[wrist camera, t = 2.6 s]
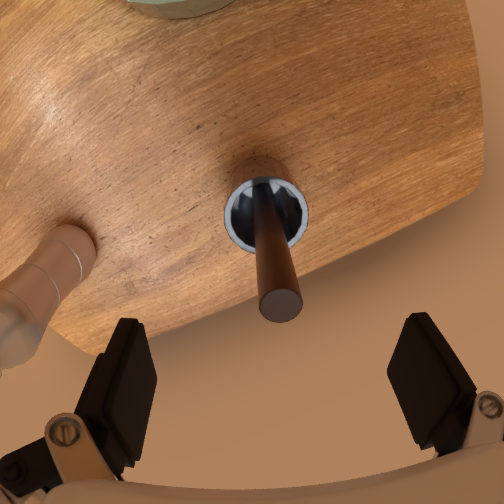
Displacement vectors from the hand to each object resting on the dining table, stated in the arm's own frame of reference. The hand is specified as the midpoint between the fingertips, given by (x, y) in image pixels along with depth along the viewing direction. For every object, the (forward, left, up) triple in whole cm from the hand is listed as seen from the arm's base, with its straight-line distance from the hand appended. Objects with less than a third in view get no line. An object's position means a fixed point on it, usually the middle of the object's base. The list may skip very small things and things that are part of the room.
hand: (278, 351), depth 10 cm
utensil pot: (0, 0, -21) cm, 21 cm away
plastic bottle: (+20, +6, -21) cm, 29 cm away
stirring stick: (0, 0, -19) cm, 19 cm away
